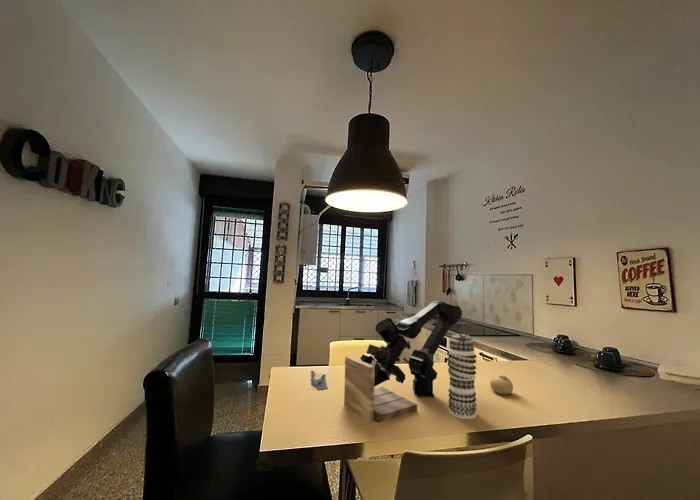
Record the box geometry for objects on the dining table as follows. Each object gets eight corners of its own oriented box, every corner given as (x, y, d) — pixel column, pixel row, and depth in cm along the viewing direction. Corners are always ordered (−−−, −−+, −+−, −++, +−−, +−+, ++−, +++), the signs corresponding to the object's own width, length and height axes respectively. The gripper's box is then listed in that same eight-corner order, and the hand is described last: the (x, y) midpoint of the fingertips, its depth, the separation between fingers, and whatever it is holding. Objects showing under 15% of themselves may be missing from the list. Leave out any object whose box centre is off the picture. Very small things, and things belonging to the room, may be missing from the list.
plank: (349, 403, 103) (350, 355, 105) (373, 420, 92) (374, 366, 93) (344, 404, 102) (345, 356, 103) (368, 421, 90) (369, 367, 92)
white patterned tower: (461, 422, 92) (461, 338, 94) (441, 409, 100) (441, 333, 102) (484, 417, 95) (482, 336, 97) (462, 405, 104) (461, 331, 106)
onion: (487, 392, 115) (486, 373, 116) (494, 387, 121) (493, 369, 122) (509, 398, 110) (509, 379, 111) (515, 393, 116) (515, 374, 116)
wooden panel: (382, 392, 114) (382, 385, 114) (416, 410, 99) (416, 403, 99) (346, 400, 105) (346, 393, 105) (378, 422, 90) (378, 414, 90)
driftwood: (327, 391, 115) (327, 385, 115) (309, 391, 114) (310, 386, 114) (325, 374, 135) (326, 369, 135) (310, 374, 134) (311, 369, 135)
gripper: (364, 331, 111) (338, 366, 104) (399, 341, 96) (371, 382, 89) (381, 350, 115) (356, 385, 108) (416, 362, 99) (390, 404, 92)
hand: (367, 388), depth 99 cm, fingers closed
